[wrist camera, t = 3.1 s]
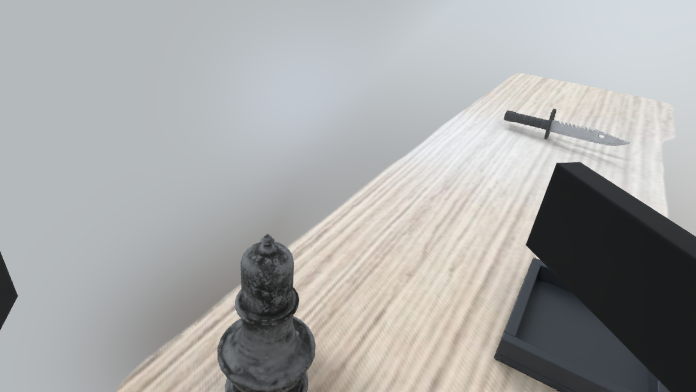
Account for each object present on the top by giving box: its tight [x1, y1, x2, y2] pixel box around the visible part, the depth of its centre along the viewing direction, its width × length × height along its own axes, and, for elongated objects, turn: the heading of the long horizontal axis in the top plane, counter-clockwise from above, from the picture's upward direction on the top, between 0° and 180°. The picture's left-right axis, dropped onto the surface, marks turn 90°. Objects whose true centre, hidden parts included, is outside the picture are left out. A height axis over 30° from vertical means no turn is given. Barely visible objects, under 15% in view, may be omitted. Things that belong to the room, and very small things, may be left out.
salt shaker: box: [218, 234, 315, 392], centre depth 25 cm, size 6×6×12 cm
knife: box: [504, 109, 629, 146], centre depth 70 cm, size 19×2×5 cm, turn 52°
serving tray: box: [494, 258, 670, 392], centre depth 34 cm, size 12×11×2 cm
